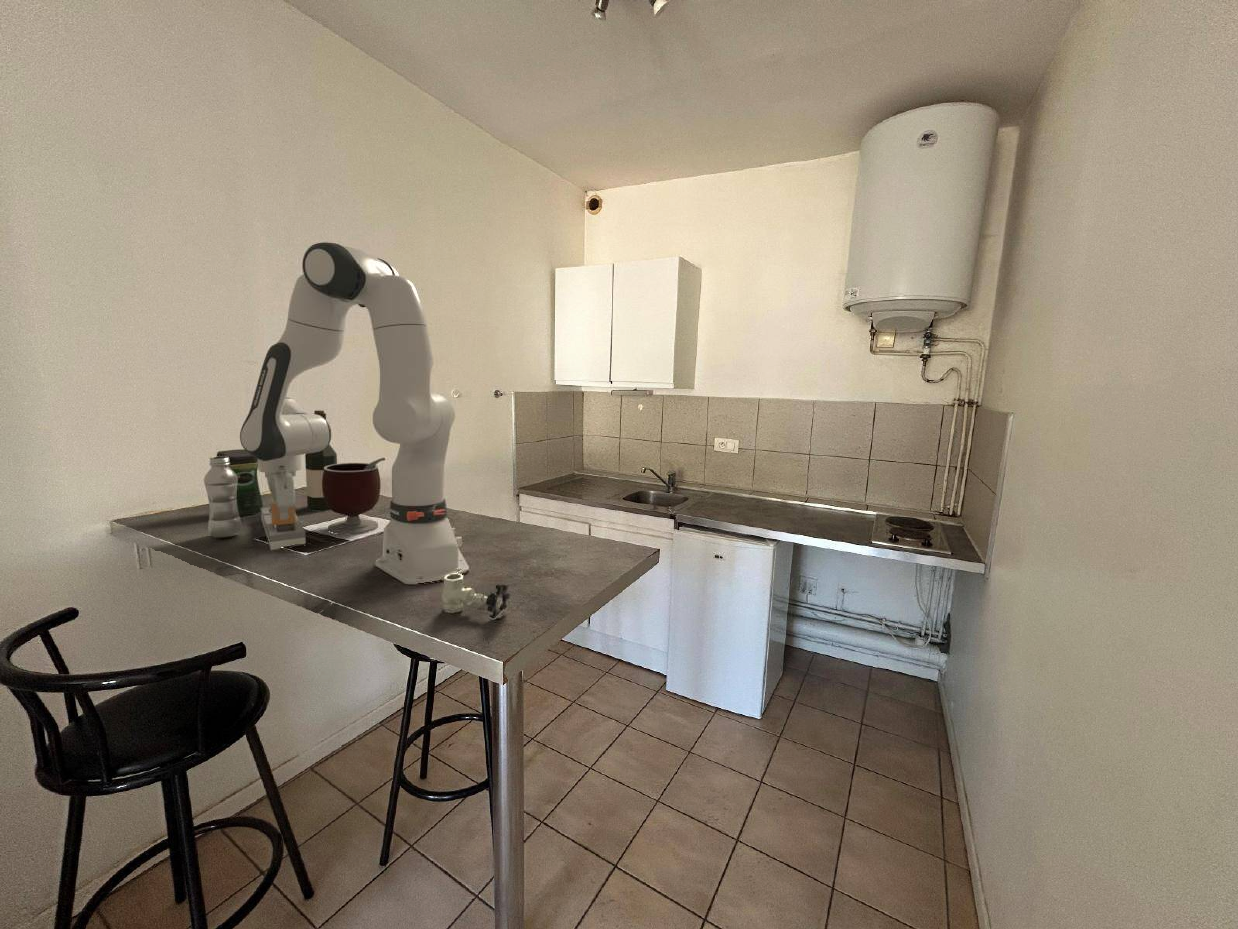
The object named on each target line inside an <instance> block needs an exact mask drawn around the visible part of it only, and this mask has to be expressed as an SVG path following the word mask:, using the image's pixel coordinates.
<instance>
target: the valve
mask: <svg viewBox="0 0 1238 929" xmlns="http://www.w3.org/2000/svg"><path fill="white" fill-rule="evenodd" d="M508 589H509V585H507V584H499V583H497V584H496V585H495V590H497V591H495V592H491V593H490V594H488V595H486V594H484V593H478V592H477V593H476V591H475V589H474V588H471V587H466V588H465V586H464V574H463V575H462V574H458V573H452V574H448V575H446V576H445V577H444V580H443V588H442V591H441V599H442V601H443V610H444V609H452V610H454V609H458V608H461V607H463V608H464V605H467V606H469V605H471V604H473V603H476V604H481V605H483V604H485V605H486V606H487V609H486V610H487V612H491V613H492V614H489V617H491V618H495V617H496V616H497V615H498V614H499V613H500V612H501V611H502V610H503V609H505V608H506V607H507V606H508V604H507V600H509V599H510V596H511V594H510V593H509V592H507V591H508ZM500 596H501V597H500ZM497 607H499V608H498V609H497ZM507 608H508V607H507ZM502 612H503V611H502Z"/></svg>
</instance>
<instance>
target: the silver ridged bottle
mask: <svg viewBox="0 0 1238 929" xmlns="http://www.w3.org/2000/svg"><path fill="white" fill-rule="evenodd" d="M229 465H230V462H229V457H225V456H220V457H216V456H212V457H210V458H209V466H210V467H211V468H209V470H208V471H207V472H206V474H205V475H204V478H203V483H204V487H205V490H206V494H207V499H208V505H209V508H208V509H209V510H208V511H209V514H208V515H209V516H208V523H207V531H208V533H209V535H210V536H211V537H213V538H220V539H221V538H230V537H234V536H237V535H238V534H240V532H241V531H242V527H243V524H242V520H241V516H239V513H238V508H237V500H236V498H237V482H238V478H237V475H236V474H235V473H234V471H233V470H232V469H231V468H229Z"/></svg>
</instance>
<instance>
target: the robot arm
mask: <svg viewBox="0 0 1238 929" xmlns="http://www.w3.org/2000/svg"><path fill="white" fill-rule="evenodd" d="M301 267H302V272H303V274H301V275H300V276H299V277H298V278H296V281H295V284H294V288H293V291H292V293H291V297H290V301H289V306H288V313H287V321H286V324H285V328H284V331H283V333H282V335H281V337H280V338H279V340H278V341H277V342H276V343H275V344H272V345H271V346H270V347H269V349H268V350H267V353H266V354H265V357H264V360H263V363H262V367H261V370H260V372H259V376H258V380H257V384H256V387H255V392H254V395H253V399H252V401H251V402H252V403H251V405H250V409H249V411H248V415H247V416H246V417H245V420H244V421H243V424H242V426H241V428H240V432H239V442H240V444H241V446H242V449H245V450H246V451H247V452H248V453H249V454H250V455H252V456H253V457H255V458H257V459H258V469H257V472H261V473H264V477H265V479H266V480H267V485H268V490H269V492H270V495H271V496H272V498H273V500H274V504H276V505H277V507H278V508H279V518H280V519H281V520H285V519H288V518H289V516H288V511H289V507H294V506H295V507H296V490H295V489H296V488H295V482H294V477H295V476H297V475H296V474H297V473H296V472H298V471H300V470H302V456H303V455H306V454H308V453H315V452H319V451H322V450H324V449H326V448H327V446H328V445H329V444H330V443H331V440H332V429H331V426H330V424H329V422H328V421H327V418H326V419H325V418H323V417H322V416H320V415H317V414H313V413H314V412H311V411H308V410H306V409H304V408H303V407H301V406H300V405H299V404H298V402H297V401H296V400H295V399H294V398H291V397H287V395H288V392H289V387H290V385H291V383H292V382H293V380H294V379H295V378H297V377H298V376H299V375H302V374H303V373H305V372H306V371H309V370H311V369H314V368H317V367H320V366H323V365H325V364H329V363H330V362H332V361H333V360H334V359H335V358H336V357H338V356H339V354H340V352H341V350H342V348H343V344H344V336H345V327H346V318H347V314H348V311H349V310H350V309H351V308H352V307H353V306H356V305H358V306H359V307H360V308H366V309H367V312H368V313H369V314H368V315H369V318H370V322H371V323H370V324H371V328H372V329H371V330H372V333H373V338H374V343H375V349H376V354H377V359H378V364H379V366H378V367H379V389H378V390H379V391H378V399H377V400H378V401H377V404H376V406H374V410H373V413H372V424H373V428H374V430H375V431H376V434H378V436H380V437H381V438H382V439H384V440H385V441H387V442H390V443H393V444H397V445H398V444H399V448H398V452H397V455H396V458H395V460H394V462H393V464H392V468H391V492H392V493H391V498H392V499H391V501H390V505H389V516H390V520H389V522H388V524H386V526H384V528H383V535H382V536H383V537H382V538H383V539H382V541H383V542H382V556H381V557H379V558H378V559H376V560H375V563H374V564H375V567H377V568H378V569H380V570H382V571H383V572H385V573H387V575H390V576H392V577H393V578H395V579H396V580H399V581H400V582H401V583H403V584H405V585H419V584H418V583H424V582H431V583H433V582H432V581H436V580H440V579H444V577H445V576H446V575H448V574H452V573H458V574H462V573H463V572H466V571H467V570H469V571H470V566H469V565H468V562H467V561H466V559H465V558H464V556H463V554H462V552H461V551H460V549H459V547H462V546H463V538H462V536H455V534H456V528H455V527H452V526H451V523H450V518H449V519H448V510H447V509H448V506H447V502H446V499H445V497H444V495H445V490H444V489H445V486H444V485H445V465H446V464H445V463H446V456H447V451H448V446H449V440H450V435H451V429H452V427H453V424H454V421H455V418H456V412H455V408H454V406H453V404H452V403H451V401H450V400H449V399H447V398H446V397H445V396H443V395H442V394H438V393H436V392H434V391H431V373H432V369H433V366H434V357H433V353H432V347H431V341H430V335H429V331H428V325H427V320H426V317H425V313H424V308H423V305H422V303H421V300H420V296H419V294H418V292H417V289H416V286H415V285H414V283H412V282H411V281H410V280H409V279H408V278H406V277H404V276H400V274H399V272H398V271H397V269H396V268H395V267H394V266H392V264H390V263H389V262H387V261H386V260H383V259H381V258H379V257H378V258H377V257H375V256H373V255H371V254H368V253H366V252H364V251H362V250H360V249H357V248H354V247H348V246H344V245H341V244H339V243H336V242H327V241H326V242H317V243H314V244H312V245H311V246H309V247H308V249H306V251H305V253H304V255H303V258H302V266H301ZM424 584H425V583H424Z"/></svg>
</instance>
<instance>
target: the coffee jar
mask: <svg viewBox="0 0 1238 929" xmlns="http://www.w3.org/2000/svg"><path fill="white" fill-rule="evenodd" d="M220 456H225V457H229V462H230V465H229V468H231V469H232V470H233V471H234V473H235V474H236V475H237V478H238V482H237V498H236V500H237V508H238V513H239V517H242V516H248V515H253V514H258V513H261V508H264V506H263V499H262V495H261V494H262V493H261V491H260V486H259V485H260V484H259V480H258V459H257V458H255V457H253V456H252V455H250V454H249V453H248V452H247V451H246V450H245V449H244V448H240V449H239V448H238V449H227V450H221V451H217V453H216V456H215V457H220Z"/></svg>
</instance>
